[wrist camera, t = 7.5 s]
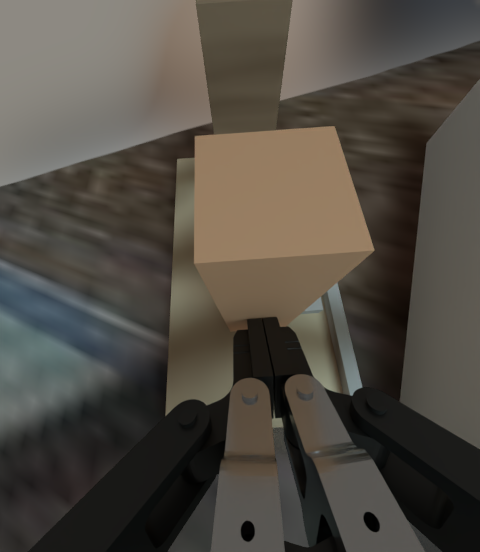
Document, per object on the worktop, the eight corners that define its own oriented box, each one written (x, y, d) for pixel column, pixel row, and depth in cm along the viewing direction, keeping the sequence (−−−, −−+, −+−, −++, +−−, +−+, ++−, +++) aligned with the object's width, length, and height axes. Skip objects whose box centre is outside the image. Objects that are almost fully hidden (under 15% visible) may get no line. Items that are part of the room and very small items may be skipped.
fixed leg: (295, 197, 18) (357, -8, 8) (223, 202, 18) (195, 4, 8) (288, 165, 20) (335, -47, 9) (222, 170, 20) (196, -37, 9)
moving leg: (320, 325, 15) (494, 241, 4) (230, 331, 15) (194, 263, 4) (310, 274, 16) (427, 119, 6) (227, 280, 16) (194, 135, 6)
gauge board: (355, 414, 14) (377, 425, 12) (172, 428, 14) (158, 441, 12) (300, 163, 22) (306, 140, 20) (181, 171, 22) (174, 149, 20)
